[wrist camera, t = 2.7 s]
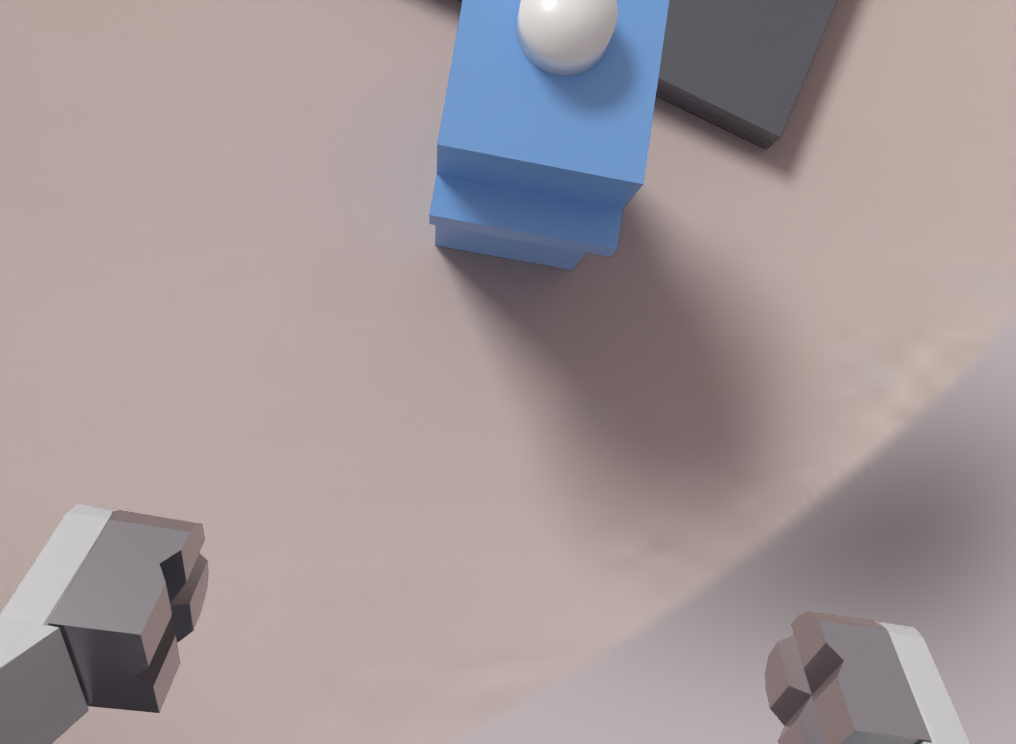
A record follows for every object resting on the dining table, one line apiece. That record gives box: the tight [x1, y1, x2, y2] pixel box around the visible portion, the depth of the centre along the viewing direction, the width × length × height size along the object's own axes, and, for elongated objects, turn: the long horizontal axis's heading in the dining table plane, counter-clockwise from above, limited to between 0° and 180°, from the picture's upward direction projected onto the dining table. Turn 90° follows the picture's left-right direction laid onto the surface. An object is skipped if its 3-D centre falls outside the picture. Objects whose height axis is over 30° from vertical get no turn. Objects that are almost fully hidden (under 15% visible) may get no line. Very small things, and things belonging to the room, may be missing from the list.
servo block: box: [430, 0, 669, 270], centre depth 19 cm, size 4×6×9 cm
